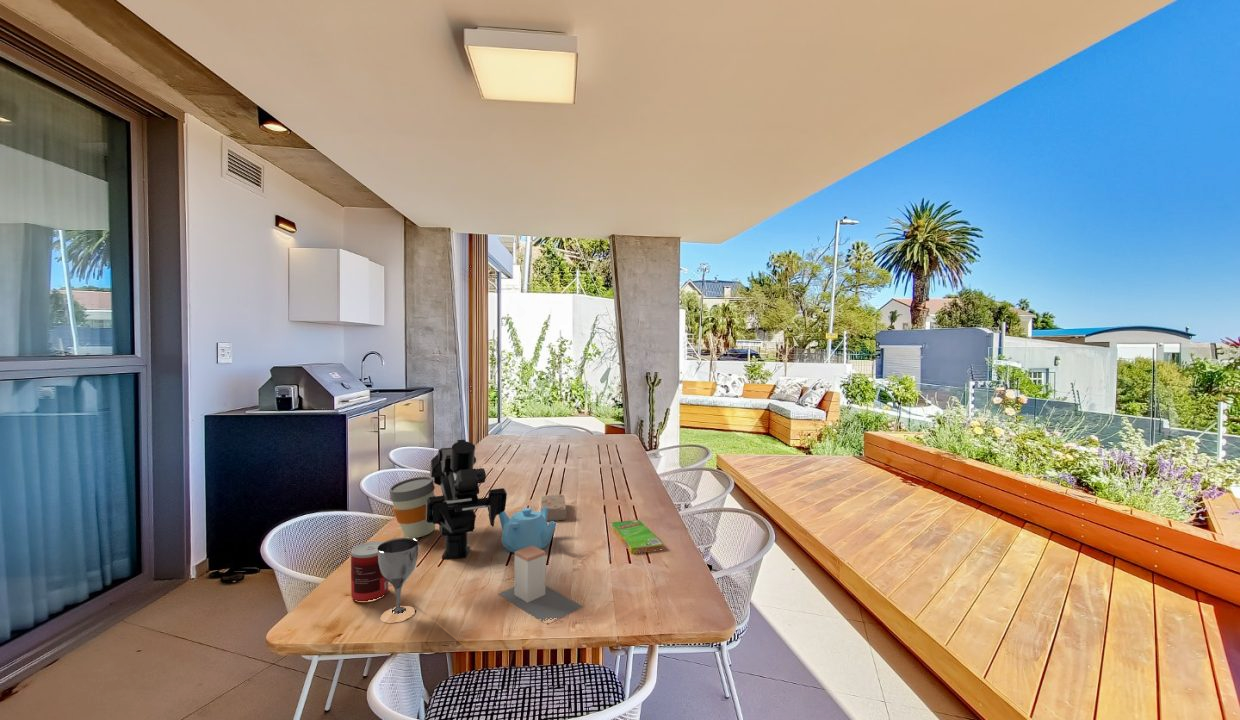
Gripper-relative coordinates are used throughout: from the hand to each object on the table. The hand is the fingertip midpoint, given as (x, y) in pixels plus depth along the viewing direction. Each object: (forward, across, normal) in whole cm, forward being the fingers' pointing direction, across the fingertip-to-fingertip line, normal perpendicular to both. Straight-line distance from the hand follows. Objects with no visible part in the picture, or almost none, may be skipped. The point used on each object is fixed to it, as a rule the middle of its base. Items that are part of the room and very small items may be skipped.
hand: (473, 528), depth 114 cm
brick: (-35, +35, +32) cm, 59 cm away
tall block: (+12, +11, +11) cm, 20 cm away
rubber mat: (+16, +13, +10) cm, 23 cm away
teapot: (-14, +19, +23) cm, 33 cm away
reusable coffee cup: (-35, -8, +30) cm, 47 cm away
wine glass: (+8, -16, +14) cm, 22 cm away
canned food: (-3, -21, +18) cm, 28 cm away
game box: (-5, +50, +20) cm, 54 cm away
